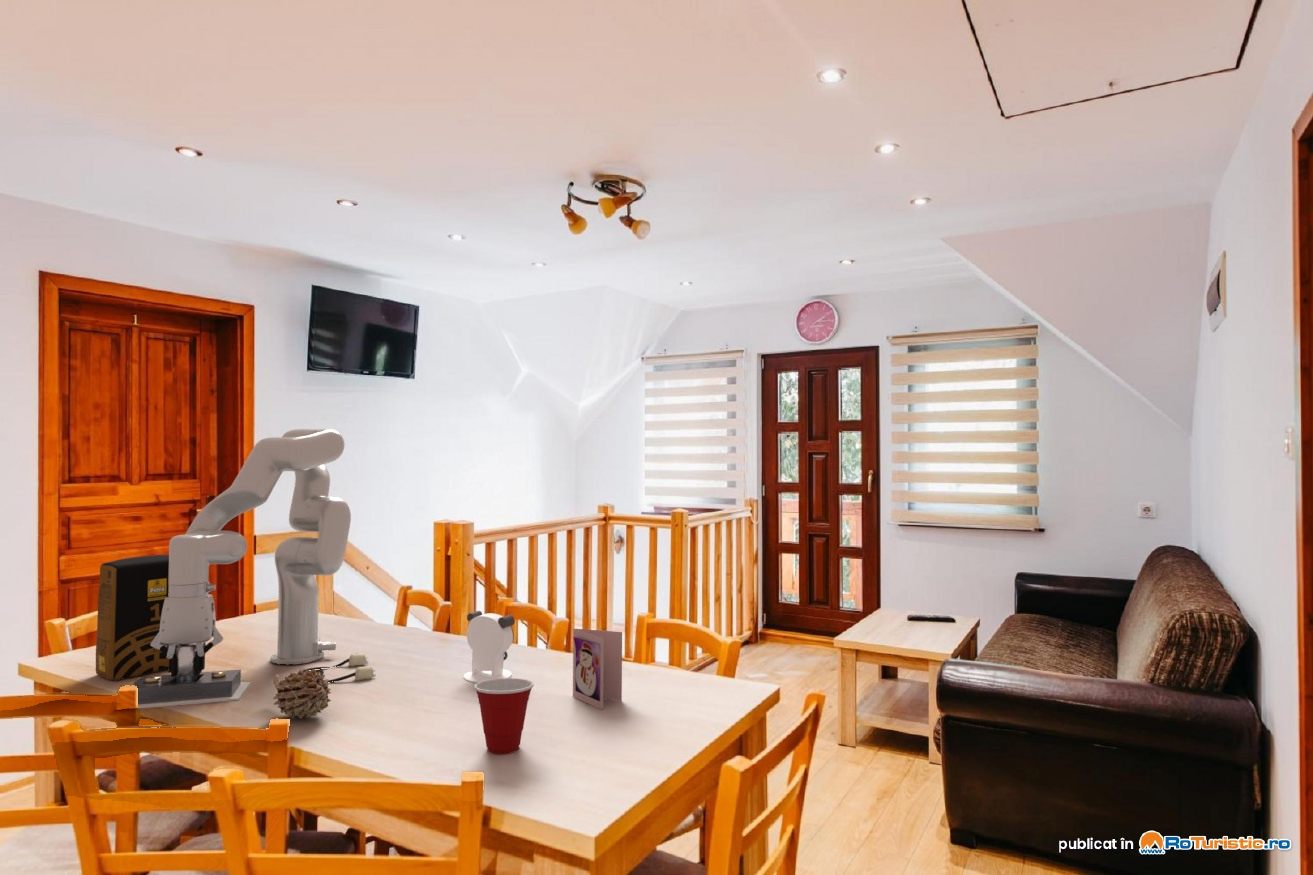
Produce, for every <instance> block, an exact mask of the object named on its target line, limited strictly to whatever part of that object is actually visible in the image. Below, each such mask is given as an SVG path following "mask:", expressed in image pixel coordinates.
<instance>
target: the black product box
mask: <svg viewBox="0 0 1313 875" xmlns="http://www.w3.org/2000/svg"><path fill="white" fill-rule="evenodd" d="M168 581H169V553H167V554H153V555H152V554H151V555H144V556H143V555H141V556H135V557H127V558H121V559H116V560H113V561H108V562H103V563H102V564H101V565H100V567H99V585H98V586H99V587H98V595H97V625H96V626H97V627H96V640H95V641H96V642H95V673H96V675H97V676H99V677H100V678H101V677H102V678H104V679H107V680H110V681H113V682H115V681H121V680H125V679H126V680H127V679H131V678H136V677H142V676H145V675H151V674H155V672H156V673H160V672H163V671H169V659H168V658H167V656H166V655H165V654H164V653H162V652H161V651H160V650H159V649H156V648H154V647H152V646H151V645H150V644H151V642H152V641H153V640H154V638H155V637H156V635H157V634H158V633H159V630H160V621H161V614H162V608H163V604H164V600H165V598H167V597H168V584H169V583H168ZM166 645H167V644H166ZM179 645H180V644H179ZM168 646H169V645H168Z"/></svg>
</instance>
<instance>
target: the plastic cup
mask: <svg viewBox="0 0 1313 875" xmlns="http://www.w3.org/2000/svg"><path fill="white" fill-rule="evenodd" d="M534 686H535V684H534V681H531V680H529V679H525V678H524V679H523V678H516V677H515V678H513V677H510V678H501V679H491V680H485V681H481V682H478V683H475V684H474V686H473V688H474V690H475V692H476V695H477V698H478V704H479V708H480V715H481V722H482V729H483V733H484V739H485V745H486V749H487V751H488V752H489V753H490V754H493V755H508V754H509V755H510V754H512V753H515V752H517V751H518V749H520V745H521V741H522V740H521V739H522V734H523V731H524V726H525V719H526V713H527V707H528V702H529V700H530V695H531V691H532V688H534Z"/></svg>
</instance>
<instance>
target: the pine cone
mask: <svg viewBox="0 0 1313 875" xmlns="http://www.w3.org/2000/svg"><path fill="white" fill-rule="evenodd" d="M325 677H326V675H325V674H323V676H321V675H320V672H316V670H315V669H312V670H311V671H309V670H306V671H305V672H303V670H302V669H299V670H298V671H297V672H290V674H289V675H288V676H284V679H283V678H282V677H280V676H279V675H278V674H277V673H276V674H275V675H274V676H272V682H273V685H274V687H275V688H276V693H275V696H274V697H272V699H273V700H276V701H274V703H273V705H275V706H276V705H277V708H279V709H280V713H281V714H283V713H284V715H285V716H289V715H291V717H292V718H293V719H294V718H295V716H297V715H298V716H299V717H298V716H297V717H298V718H299V719H302V718H304V717H305V718H306V719H308V717H311V718H312V717H313V716H314V717H315V716H317V714H318V713H319V714H321V713H322V711H324V709H326V708H328V706H329V702H331V701H332V699H330V698H329V694H332V693H333V692H331V691H332V689H331V688H330V687H329V685H330V684H331V683H328V681H329V680H330V679H327V678H325Z"/></svg>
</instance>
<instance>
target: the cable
mask: <svg viewBox="0 0 1313 875" xmlns="http://www.w3.org/2000/svg"><path fill="white" fill-rule="evenodd" d="M368 659H369V657H368V656H366V654H365V653H352V654H350V655H349V658H347V659H345V660H343V661H342V662H339V663H338V664H336V665H333V666H332V667H335V666H336V667H337V666H340V667H342V666H343V665H345V664H347V663H348V665H349V667H356V669H355V671H354V672H352V673H349V674H347V675H344V676H341V677H337V678H334V679H328V680H329V681H328V682H332V681H333V683H335V682H334V681H337V682H340V681H343V680H347V679H349V678H353V677H354V678H355V680H356V681H365V680H364V679H366V680H372V679H373V678H374V677H375V678H376V674H375V673H374V672H376V669H374V668H373V666H372V665H371V666H365V665H367V664H369V661H368ZM355 665H363V666H355ZM330 667H331V666H318V667H317V666H316V667H309V668H306V669H303V670H302V671H303V672H305V671H306V670H312V669H321V668H330ZM337 668H338V667H337ZM316 672H320V675H321V676H323V675H324V673H325V671H324V670H316ZM371 678H372V679H371Z"/></svg>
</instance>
